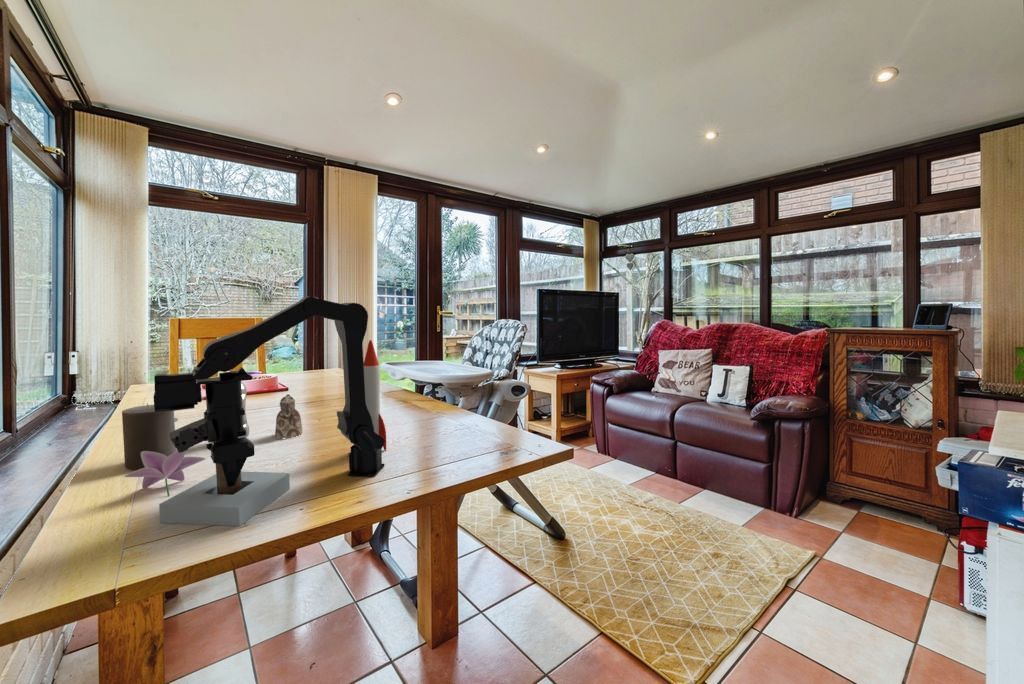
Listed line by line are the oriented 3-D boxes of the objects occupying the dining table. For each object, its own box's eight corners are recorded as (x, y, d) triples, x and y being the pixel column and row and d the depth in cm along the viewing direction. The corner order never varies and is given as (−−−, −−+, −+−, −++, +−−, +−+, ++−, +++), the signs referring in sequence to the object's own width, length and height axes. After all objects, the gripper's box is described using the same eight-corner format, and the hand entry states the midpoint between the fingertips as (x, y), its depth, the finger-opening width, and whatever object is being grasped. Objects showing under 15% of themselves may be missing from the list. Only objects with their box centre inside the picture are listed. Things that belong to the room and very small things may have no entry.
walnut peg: (246, 490, 84) (244, 447, 83) (232, 499, 80) (229, 454, 79) (227, 489, 84) (225, 446, 83) (212, 499, 80) (209, 453, 79)
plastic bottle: (228, 446, 115) (223, 374, 113) (219, 441, 119) (214, 371, 117) (253, 440, 120) (250, 371, 118) (244, 435, 124) (240, 369, 122)
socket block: (289, 488, 89) (289, 473, 89) (239, 526, 74) (238, 507, 74) (223, 486, 90) (222, 470, 90) (160, 522, 75) (159, 504, 75)
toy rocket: (379, 445, 117) (377, 338, 114) (387, 450, 113) (384, 340, 110) (359, 449, 113) (356, 339, 111) (366, 455, 109) (363, 341, 106)
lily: (216, 484, 94) (206, 443, 96) (186, 485, 83) (176, 439, 85) (155, 507, 90) (146, 465, 93) (116, 511, 79) (107, 463, 82)
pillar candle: (147, 471, 97) (143, 408, 96) (114, 467, 99) (110, 406, 98) (186, 457, 107) (184, 399, 106) (156, 454, 109) (152, 397, 108)
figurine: (272, 439, 120) (270, 399, 119) (279, 432, 127) (277, 393, 126) (299, 437, 122) (297, 397, 121) (304, 430, 129) (303, 392, 128)
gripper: (168, 402, 82) (174, 478, 83) (173, 423, 68) (180, 514, 69) (235, 394, 89) (239, 464, 91) (252, 411, 75) (257, 494, 77)
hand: (229, 482), depth 82 cm, fingers closed on walnut peg, 4 cm apart
